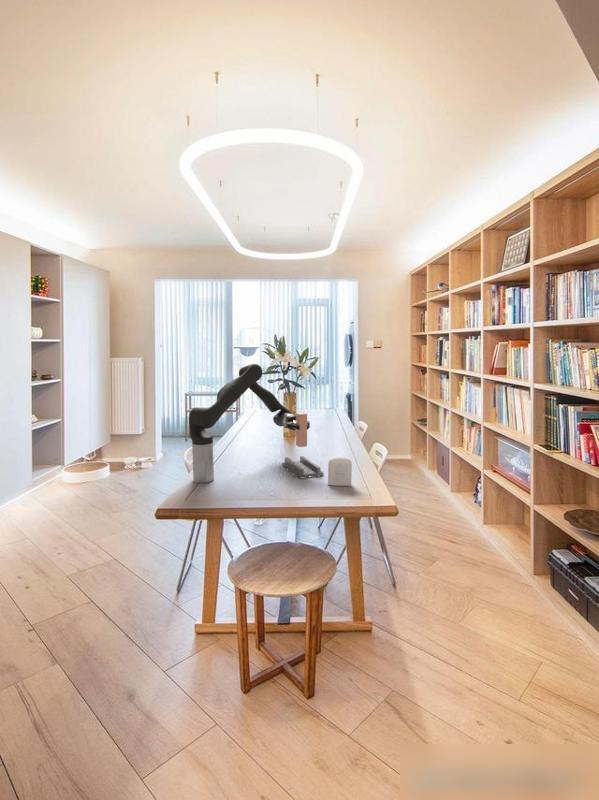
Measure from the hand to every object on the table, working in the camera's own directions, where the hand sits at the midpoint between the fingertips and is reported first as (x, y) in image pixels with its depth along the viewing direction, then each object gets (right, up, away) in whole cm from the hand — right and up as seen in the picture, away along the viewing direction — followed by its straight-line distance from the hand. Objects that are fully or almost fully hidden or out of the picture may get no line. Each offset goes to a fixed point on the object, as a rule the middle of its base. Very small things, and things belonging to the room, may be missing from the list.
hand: (303, 427), depth 200 cm
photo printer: (+16, -24, -18) cm, 34 cm away
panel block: (-1, -9, +4) cm, 10 cm away
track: (-1, -21, +5) cm, 22 cm away
